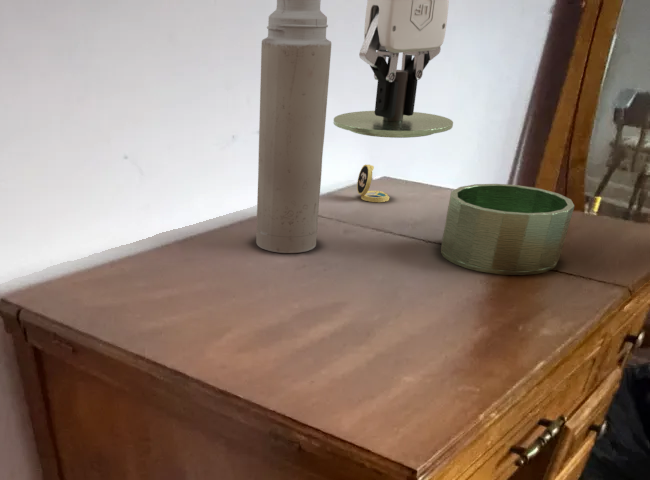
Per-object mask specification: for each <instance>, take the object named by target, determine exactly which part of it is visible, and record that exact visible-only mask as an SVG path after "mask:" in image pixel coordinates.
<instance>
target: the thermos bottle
mask: <svg viewBox="0 0 650 480" xmlns="http://www.w3.org/2000/svg"><path fill="white" fill-rule="evenodd" d="M321 1H322V0H276V7H275V10H274V11H272V12H271V13H270V14H269V16H268V21H267V22H268V24H267V25H266V29H267V37H265V38H263V39H262V40H261V47H260V48H261V51H260V56H261V57H260V58H261V59H260V84H259V85H260V87H259V126H258V127H259V129H258V165H257V166H258V167H257V174H258V175H257V199H256V200H257V201H256V202H257V204H256V234H255V235H256V237H255V238H256V239H255V243H256V245H257V247H259V248H260V249H263V250H265V251H267V252H268V251H269V252H274V253H280V254H297V253H305V252H308V251H311V250H313V249H315V247H316V246H317V238H318V226H319V209H320V197H321V186H322V185H321V183H322V172H323V170H322V169H323V152H324V144H325V143H324V142H325V132H326V120H327V108H328V107H327V106H328V94H329V81H330V69H331V55H332V41H331V40H330V39H328V38H327V28H328V27H329V24H328V17H327V16H326V15H325V13H323V12H322V10H321Z"/></svg>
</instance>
